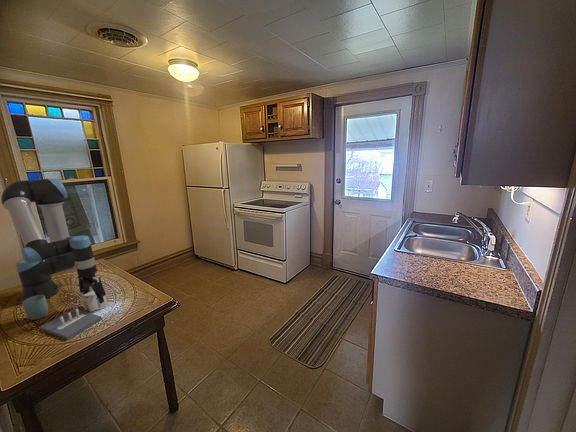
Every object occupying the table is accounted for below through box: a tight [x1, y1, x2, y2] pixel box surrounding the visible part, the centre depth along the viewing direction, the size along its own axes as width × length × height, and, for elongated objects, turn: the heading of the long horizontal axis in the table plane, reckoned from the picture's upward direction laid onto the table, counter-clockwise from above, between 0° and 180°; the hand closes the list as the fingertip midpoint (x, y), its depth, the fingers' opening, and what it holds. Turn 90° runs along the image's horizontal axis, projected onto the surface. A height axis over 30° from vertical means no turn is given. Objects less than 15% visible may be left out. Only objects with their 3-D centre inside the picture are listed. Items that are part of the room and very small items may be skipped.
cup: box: [21, 295, 49, 321], centre depth 117 cm, size 8×8×10 cm
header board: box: [39, 308, 103, 341], centre depth 112 cm, size 20×14×6 cm
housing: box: [80, 290, 108, 313], centre depth 125 cm, size 5×8×8 cm, turn 160°
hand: (96, 306), depth 126 cm, fingers open, 9 cm apart
